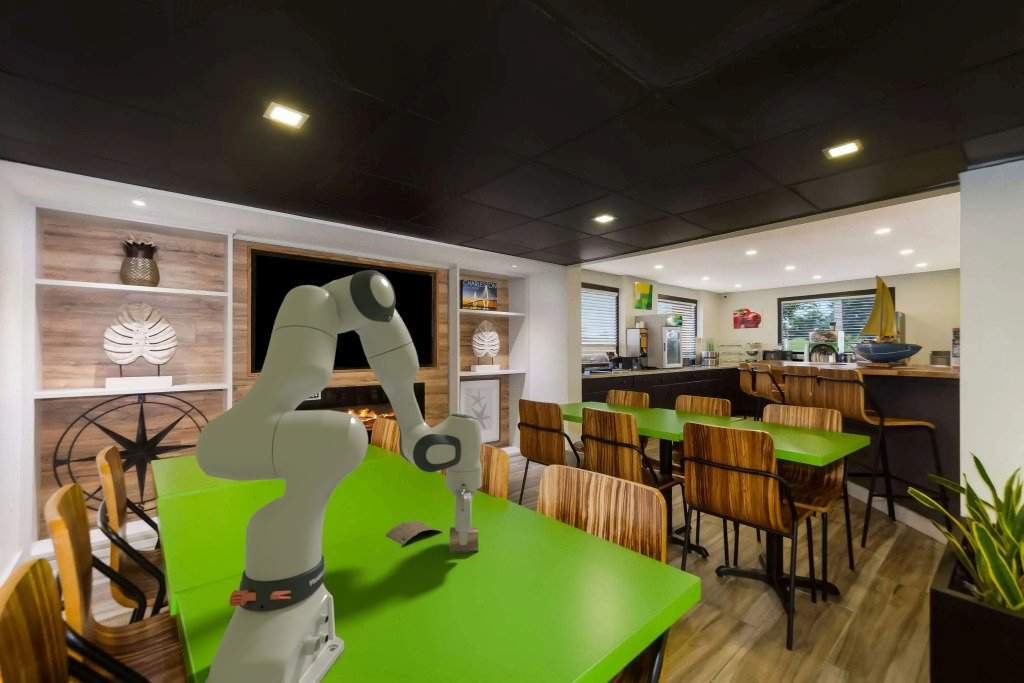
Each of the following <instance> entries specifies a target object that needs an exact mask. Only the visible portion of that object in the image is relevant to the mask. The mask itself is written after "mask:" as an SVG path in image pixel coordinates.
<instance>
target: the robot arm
mask: <svg viewBox="0 0 1024 683" xmlns="http://www.w3.org/2000/svg"><path fill="white" fill-rule="evenodd" d="M396 303H397V301H396V294H395V290H394V287H393V285H392V283H391V282H390V280H389V279H388V278H387V277H386V276H385V275H384V274H383V273H381V272H379V271H377V270H375V269H368V270H363V271H362V270H361V271H358V272H357V271H356V272H355V273H354V274H352V275H348V276H345V277H342V278H339V279H335V280H332V281H331V282H328V283H325V284H324V285H323V286H317V285H311V284H308V285H307V284H305V285H299V286H296V287H294V288H292V289H291V290H289V291H288V292H287V294H286V295H285V296H284V299H283V301H282V303H281V305H280V307H279V310H278V312H277V315H276V318H275V320H274V324H273V327H272V328H273V329H272V330H271V331H272V332H271V335H270V336H271V337H270V340H269V344H268V349H267V352H266V356H265V358H264V362H263V364H262V365H263V366H262V369H261V370H260V374H259V375H258V377H257V379H256V381H255V382H254V384H253V385H252V386H251V387H250V389H249V390H248V391H247V393H246V394H245V395H244V396H243V397H242V398H241V399H240V400H239V401H238V402H237V403H235V404H234V405H233V406H232V407H231V408H229V409H228V410H226V411H225V412H223V413H221V414H220V415H218V416H216V417H214V418H212V419H211V420H210V421H209V422H207V423H206V425H205V426H204V427H203V428H202V430H201V431H200V433H199V435H198V437H197V439H196V444H195V458H196V462H197V464H198V466H199V469H200V470H201V471H202V472H203V473H204V474H205V475H206V476H208V477H211V478H212V477H213V478H217V479H222V480H229V481H237V482H242V481H243V482H244V481H245V482H247V481H267V480H269V481H272V480H274V481H275V480H282V481H284V483H285V488H284V493H283V495H282V496H279V497H277V498H275V499H273V500H271V501H269V502H268V503H267V504H265V505H263V506H261V507H259V508H258V509H257V510H256V511H255V512H254V513H252V515H251V517H249V518H250V519H249V520H248V522H247V525H246V528H245V550H244V553H245V558H244V559H245V560H244V562H245V564H244V567H245V568H244V570H243V572H242V574H241V578H240V582H239V585H238V590H236V589H235V590H233V591H232V592H231V594H230V597H229V601H228V602H229V603H228V604H229V606H230V607H235V610H234V612H233V614H232V616H231V619H230V621H229V623H228V625H227V627H226V629H225V632H224V634H223V636H222V638H221V641H220V643H219V646H218V647H217V649H216V652H215V654H214V656H213V660H212V662H211V664H210V668H209V674H208V676H207V678H206V680H205V681H204V683H320V682H321V680H323V678H324V677H325V675H326V674H327V672H328V671H329V670H330V669H331V667H332V666H333V664H334V663H335V662H336V660H338V658H339V656H340V655H341V654H342V652H344V649H345V642H344V640H343V639H342V638H341V637H338V636H336V627H335V626H336V625H335V608H334V607H335V606H334V597H333V595H332V593H330V591H329V590H328V589H327V588H326V586H325V584H324V581H325V571H326V564H325V557H324V555H323V554H322V547H323V546H322V544H323V543H322V542H323V530H324V529H323V528H324V520H325V512H326V508H327V507H328V506H327V505H328V503H329V500H330V498H331V497H332V494H333V493H334V491H335V490H336V488H337V487H338V485H340V483H341V482H342V481H343V480H344V479H345V478H346V477H348V476H349V475H351V473H353V472H354V471H355V470H356V469H357V468H358V467H359V466H360V465H361V463H362V462H363V460H364V458H365V457H366V455H367V451H368V446H369V436H368V435H369V434H368V431H367V427H366V426H365V424H364V423H363V421H362V419H361V418H360V417H359V416H358V415H356V414H353V413H349V412H344V411H338V410H331V409H321V410H320V409H317V410H315V409H314V410H311V409H310V410H308V409H307V410H297V408H298V406H300V405H301V404H302V403H303V402H304V401H305V400H307V399H308V398H311V397H313V396H315V395H317V394H319V393H320V392H322V391H324V389H326V387H327V386H328V385H329V384H330V382H331V380H332V378H333V371H334V366H335V360H336V359H335V358H336V351H337V350H336V349H337V342H338V334H343V333H347V332H351V331H354V332H356V333H357V335H359V339H360V342H361V343H360V344H361V346H362V349H363V352H364V355H365V357H366V361H367V363H368V364H369V365H368V366H370V370H371V371H372V373H373V375H374V376H375V378H376V380H377V381H378V383H379V385H380V386H381V387H382V390H383V391H384V393H385V395H386V396H387V398H388V402H389V403H390V406H391V408H392V412H393V414H394V417H395V420H396V422H397V425H398V430H399V438H398V448H399V453H400V455H401V456H402V457H403V459H404V460H405V461H407V462H408V463H411V464H412V465H413V466H414V467H416V468H417V469H419V470H421V471H422V472H426V473H435V472H439V471H443V470H445V488H446V489H448V490H449V491H450V492H451V493H450V494H451V495H452V496H455V499H454V527H455V530H456V531H459V537H460V545H466V544H467V534H468V531H469V530H470V529H471V527H472V506H473V505H472V504H473V496H475V495H476V494H477V493H478V492H477V490H478V489H480V488H481V487H482V484H483V481H482V476H483V475H482V474H483V473H482V469H483V468H482V463H481V453H482V432H481V426H480V423H479V422H480V421H479V420H478V419H477V418H476V417H474V416H472V415H467V414H464V413H463V414H462V413H452V414H450V415H448V417H447V418H445V419H444V420H443V421H441V422H440V423H438V424H436V425H435V426H433V427H430V426H429V425H428V423H426V421H425V419H424V418H423V415H422V412H421V409H420V406H419V403H418V401H417V398H416V396H415V395H416V394H415V391H414V383H415V380H416V378H417V376H418V374H419V371H420V363H419V358H418V353H417V350H416V347H415V345H414V342H413V339H412V336H411V334H410V332H409V330H408V328H407V326H406V324H405V322H404V321H403V318H402V317H401V316H400V314H399V313H398V310H397V309H396Z"/></svg>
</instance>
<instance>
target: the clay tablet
mask: <svg viewBox="0 0 1024 683" xmlns="http://www.w3.org/2000/svg"><path fill="white" fill-rule="evenodd" d="M429 530H430V531H431V530H432V531H437V528H434V527H432V526H430V525H428V524H426V523H424V522H421V521H417V520H409V521H404V522H401V523H398V524H397V525H395V526H394V527H392V528H391V529H390V530H389V531H388V532H387V533H386V534H385V535H386V537H388V538H390V539H392V540H394V541H396V542H397V543H399V544H401V545H403V546H405V544H406V543H407V542H408V541H409V540H411V539H412V538H413V537H415V536H417V535H418V534H419V533H421V532H425V531H429ZM386 537H385V538H386ZM388 538H387V539H388Z"/></svg>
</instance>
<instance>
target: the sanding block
mask: <svg viewBox="0 0 1024 683" xmlns="http://www.w3.org/2000/svg"><path fill="white" fill-rule="evenodd" d="M448 537H449V538H448V539H449V548H448V550H449V554H463V553H464V554H465V553H467V554H468V553H479V526H477V525H476V526H475V525H474V526H471V529H470V530H469V531H468V534H467V544H466V545H460V537H459V531H456V530H455V526H453V527H452V526H451V527H450V528H449V536H448Z"/></svg>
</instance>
